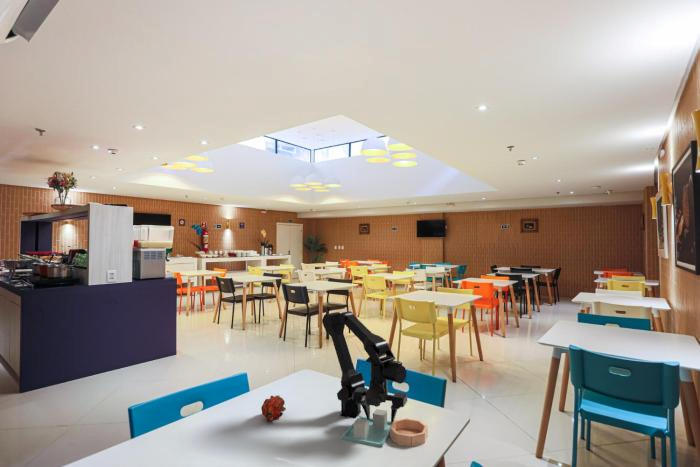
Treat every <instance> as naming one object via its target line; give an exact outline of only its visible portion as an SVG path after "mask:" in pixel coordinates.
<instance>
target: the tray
mask: <svg viewBox="0 0 700 467" xmlns="http://www.w3.org/2000/svg"><path fill="white" fill-rule="evenodd" d="M357 417H358V418H359V419H365V420H367V417H366V416H362V415H358V416H357ZM357 417H356V420H357V419H358V418H357ZM390 426H391V420H387V427H386V428H385V430H379V429H374V428H373V417H370V419H369V437H368V438H367V439H366V440H362V439H357V438H354V431H353V423H352V424H351V425H350V427H349V428H348V429H347V430H346V431H345V432H344V433H343V435H342V436H341V440H343V441H349V442H353V443H358V444H363V445H368V446H373V447H377V448H378V447H379V448H383V446H384V445H385V443H386V442H387V440H388V439H389V438H390Z"/></svg>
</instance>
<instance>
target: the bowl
mask: <svg viewBox="0 0 700 467" xmlns="http://www.w3.org/2000/svg"><path fill="white" fill-rule="evenodd" d="M428 428H429V427H428V426H427V424H425V423H424V422H423V421H422V420H419V419H414V418H406V417H405V418H401V419H400V418H399V419H396V420H394V421H393V423H392V424H391V426H390V436H389V438H390V439H391V440H392V441H393V442H395V444H396V445H401V446H405V447H410V448H411V447H416V446H420V445H424V444H426V442H427V439H428V437H429V435H428V434H429V432H428Z"/></svg>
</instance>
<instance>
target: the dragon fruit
mask: <svg viewBox="0 0 700 467" xmlns="http://www.w3.org/2000/svg"><path fill="white" fill-rule="evenodd" d="M260 410H261V413H262V416H263V417H264V418H265V419H266V422H267V423H269V422H270V421H275V419H277V418H278V419H280V418H281V417H282V416H283V414H284V412H285V411H286V410H287V408H286V407H285V399H283V397H281V396H280V395H275V396H274V395H270V396H269V398H266V399H265V400H263V404H262V406H261V409H260ZM278 419H277V420H278Z"/></svg>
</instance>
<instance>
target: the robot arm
mask: <svg viewBox="0 0 700 467" xmlns="http://www.w3.org/2000/svg"><path fill="white" fill-rule="evenodd" d="M321 323H322V325H323V329H324V330H325V332H326V333H327V334H328V335H329V336H330V337H331V340H332V343H333V346H334V350H335V352H336V357H337V359H338V360H337V361H338V364H339V368H340V371H341V380H340V385H341V389H339V390H338V391H337V393H336V398H337V400H338V401H340V407H341V408H340V409H341V410H340V412H341V413H340V414H339V417H343V418H349V419H357V417H359V416H360V414H361V413H362V410H361V408H362V409H363V411H364V414H365V417H367V420H369V419H370V418H371V406H373V407H377V408H378V407H380V405H381V404H382V403H386V402H391V406H390V408H391V409H390V410H391V413H390V421H391V424H392V423H393V421H395V418H396V415H397V412H398V410H400V409H401V408H404V407H405V405H406V404H407V403H408V394H406V392H398V391H396V392H395V393H394V394H388V393H389V388H388V381H390V382H393V383H397V384H401V385H402V384H403V383H404V382H405V380H406V379H407V370H406V367H405V366H404V365H403V362H402V361H396V357H395V354H394V353H393V352H392V350H391V348H390V344H389V343H388V341H387V340H386V339H384V338H383V337H381V336H380V335H377V334H375V333H374V332H372V331H371V330H369V329H368V327H367V326H365V325H364V323H362V321H361V320H360V319H359V318H358V317H356V316H355V313H354V312H353V311H351V310H348V311H342V312H339V311H334V312H331V313H326V314H324V315H323V316H322V319H321ZM346 327H347V329H349V331H350V332H352V333H353V334H354V336H355V337H357V339H358V340H360V341H359V342H361V343H362V344H363V350H364V351H365V352H366V353H367V356H368V357H367V358H366V359H365V362H366V363H369V364H370V380H369V386H368V387H366V385H365V384H366V382H365V380H364V378H363V373H362V372H358V371H357V370H356V369H355V365H354V363H353V360H352V356H351V353H350V349H349V347H348V344H347V341H346V337H345V334H344V333H345V332H344V330H345V328H346Z"/></svg>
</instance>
